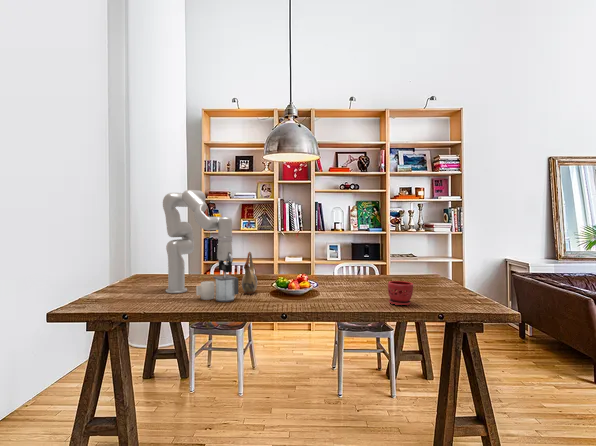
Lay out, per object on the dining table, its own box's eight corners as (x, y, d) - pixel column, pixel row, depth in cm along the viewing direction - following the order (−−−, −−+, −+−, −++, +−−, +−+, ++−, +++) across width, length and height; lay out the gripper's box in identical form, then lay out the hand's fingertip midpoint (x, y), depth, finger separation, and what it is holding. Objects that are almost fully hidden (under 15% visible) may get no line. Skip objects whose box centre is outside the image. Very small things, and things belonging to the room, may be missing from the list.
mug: (194, 298, 226) (194, 282, 226) (211, 296, 232) (211, 280, 232) (199, 300, 220) (199, 284, 219) (216, 298, 226) (216, 282, 225)
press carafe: (213, 299, 223) (213, 276, 223) (233, 296, 231) (233, 274, 230) (220, 302, 215) (220, 279, 215) (241, 299, 223) (241, 277, 222)
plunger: (217, 293, 223) (217, 264, 222) (227, 292, 227) (227, 263, 226) (222, 296, 217) (222, 265, 217) (233, 294, 221) (233, 265, 221)
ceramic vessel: (253, 296, 232) (253, 253, 231) (238, 295, 233) (238, 253, 232) (260, 290, 248) (260, 250, 247) (246, 290, 249) (246, 250, 248)
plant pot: (408, 308, 206) (409, 285, 206) (384, 305, 213) (384, 282, 213) (415, 303, 217) (416, 281, 217) (392, 300, 224) (392, 279, 224)
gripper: (212, 238, 226) (212, 269, 226) (226, 241, 212) (225, 273, 212) (224, 238, 230) (224, 268, 231) (238, 240, 216) (238, 272, 217)
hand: (225, 271), depth 221 cm, fingers open, 8 cm apart
